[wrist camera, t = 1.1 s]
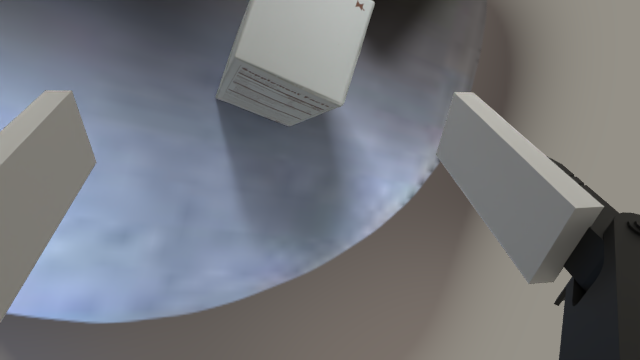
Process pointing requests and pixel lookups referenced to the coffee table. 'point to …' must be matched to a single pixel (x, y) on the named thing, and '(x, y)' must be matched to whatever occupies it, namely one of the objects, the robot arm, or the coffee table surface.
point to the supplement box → (294, 57)
